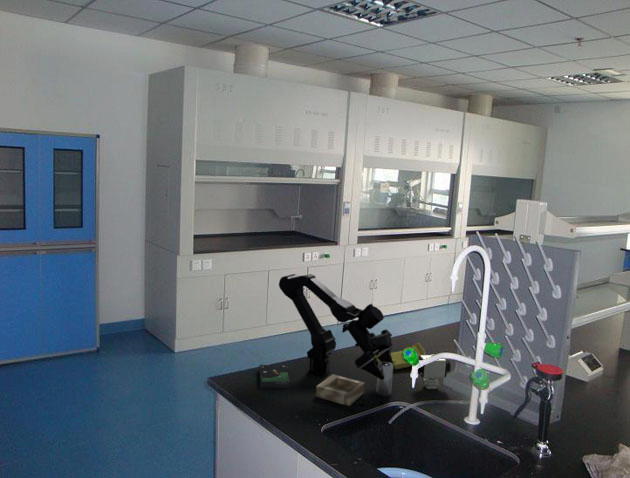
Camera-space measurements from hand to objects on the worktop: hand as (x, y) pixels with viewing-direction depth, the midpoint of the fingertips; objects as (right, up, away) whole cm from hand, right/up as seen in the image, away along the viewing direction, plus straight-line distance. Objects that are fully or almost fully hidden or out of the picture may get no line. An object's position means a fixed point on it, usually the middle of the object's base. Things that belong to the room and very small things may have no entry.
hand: (389, 375), depth 171 cm
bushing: (-2, -6, +2) cm, 7 cm away
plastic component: (+8, -4, +28) cm, 29 cm away
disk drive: (-39, -4, +8) cm, 40 cm away
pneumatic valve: (+16, -7, +8) cm, 19 cm away
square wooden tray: (-16, -6, -2) cm, 17 cm away
